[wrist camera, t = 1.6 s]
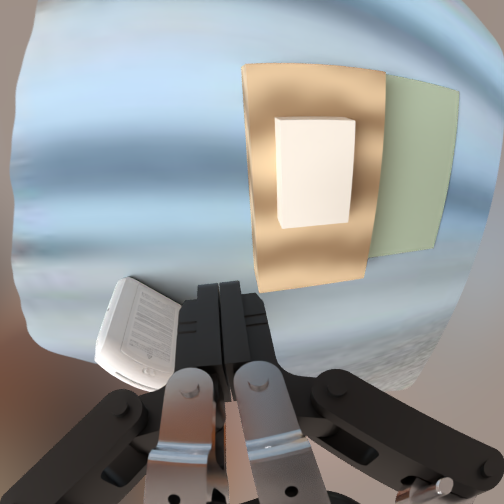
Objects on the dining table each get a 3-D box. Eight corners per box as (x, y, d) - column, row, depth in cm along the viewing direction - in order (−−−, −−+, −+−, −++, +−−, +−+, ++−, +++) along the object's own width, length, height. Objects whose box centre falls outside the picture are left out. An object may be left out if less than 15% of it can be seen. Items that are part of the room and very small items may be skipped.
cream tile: (274, 117, 21) (280, 120, 19) (344, 117, 21) (355, 120, 20) (277, 218, 26) (282, 228, 24) (339, 212, 26) (348, 222, 25)
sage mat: (368, 71, 22) (370, 72, 22) (457, 91, 23) (459, 91, 23) (354, 257, 35) (355, 259, 34) (431, 246, 36) (433, 248, 35)
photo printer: (110, 291, 33) (84, 372, 23) (124, 269, 32) (96, 353, 21) (177, 327, 37) (173, 407, 27) (195, 309, 36) (194, 393, 26)
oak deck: (241, 67, 22) (245, 63, 18) (364, 71, 22) (385, 71, 19) (254, 270, 34) (259, 293, 30) (350, 258, 35) (363, 277, 31)
